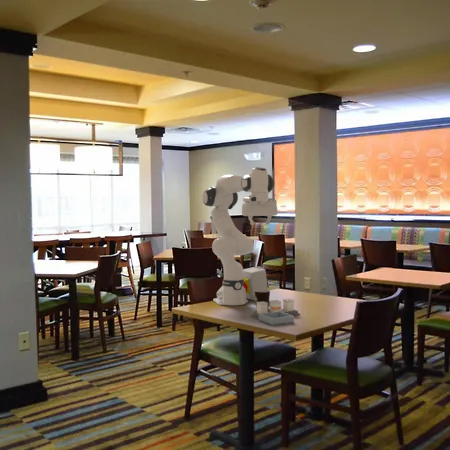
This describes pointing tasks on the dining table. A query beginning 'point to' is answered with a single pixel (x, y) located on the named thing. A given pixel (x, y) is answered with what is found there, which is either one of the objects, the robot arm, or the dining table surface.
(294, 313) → the holder
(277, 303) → the fuse marked
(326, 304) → the dining table surface
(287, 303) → the fuse
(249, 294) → the electrical switch box
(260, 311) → the fuse
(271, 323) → the tray
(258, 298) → the coffee mug
